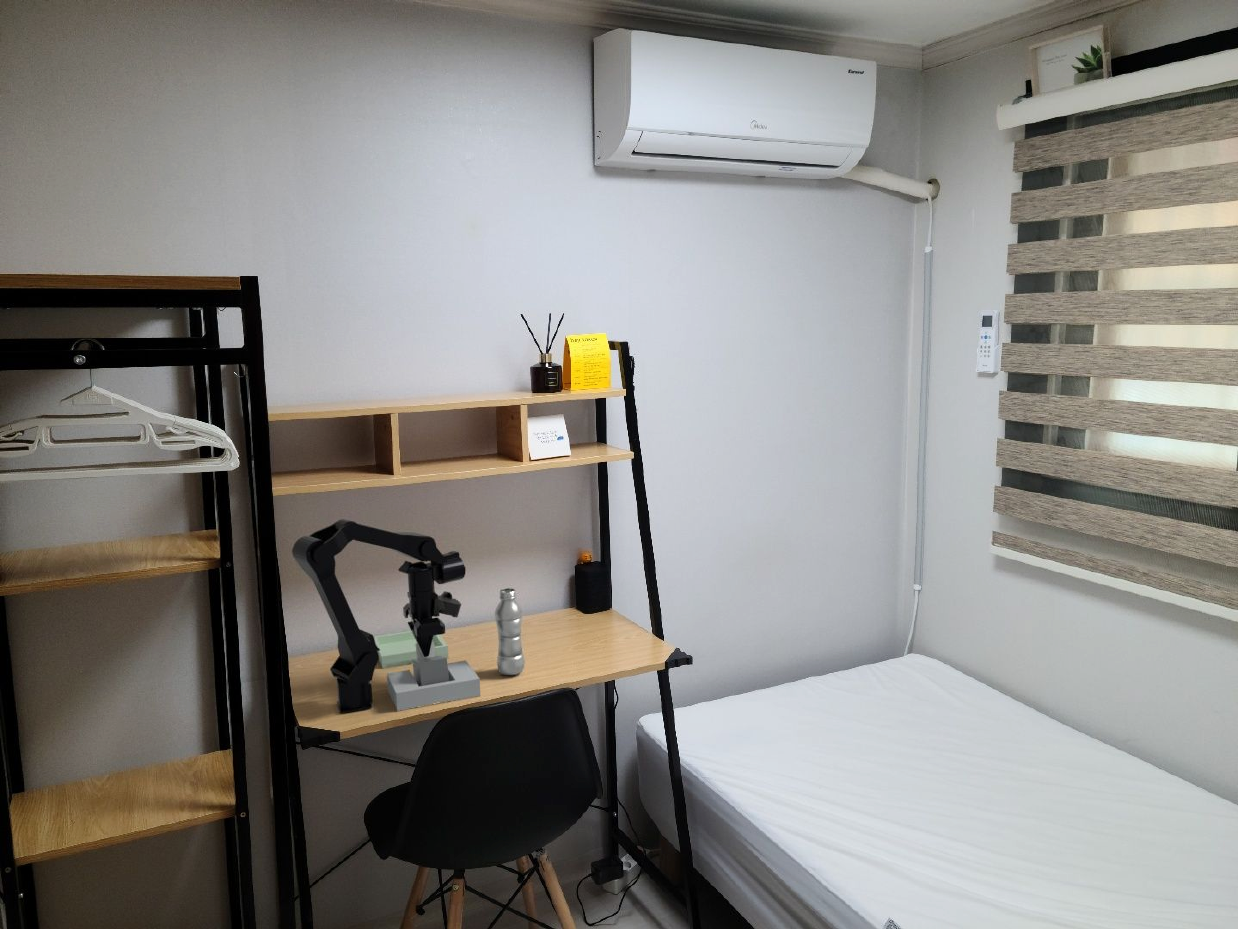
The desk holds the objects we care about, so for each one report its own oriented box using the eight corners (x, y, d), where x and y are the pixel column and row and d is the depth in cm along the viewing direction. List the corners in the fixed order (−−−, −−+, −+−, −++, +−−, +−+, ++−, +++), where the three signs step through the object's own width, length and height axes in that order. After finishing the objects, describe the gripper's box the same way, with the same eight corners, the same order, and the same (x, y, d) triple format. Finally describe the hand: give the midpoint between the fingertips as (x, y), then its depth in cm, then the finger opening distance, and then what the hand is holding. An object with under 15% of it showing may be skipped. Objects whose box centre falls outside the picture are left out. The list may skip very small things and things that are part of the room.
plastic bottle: (499, 680, 206) (495, 595, 203) (495, 669, 212) (491, 588, 210) (527, 676, 208) (523, 592, 205) (522, 666, 214) (518, 585, 211)
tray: (382, 668, 215) (381, 656, 215) (372, 648, 230) (371, 636, 229) (448, 657, 221) (447, 646, 221) (435, 638, 236) (434, 627, 235)
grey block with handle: (422, 690, 194) (417, 646, 195) (415, 686, 204) (410, 644, 205) (449, 685, 197) (445, 642, 198) (441, 681, 206) (437, 640, 207)
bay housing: (397, 711, 190) (396, 693, 190) (387, 690, 202) (386, 673, 201) (480, 696, 197) (479, 678, 197) (466, 676, 209) (465, 660, 208)
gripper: (466, 594, 197) (469, 662, 199) (448, 574, 214) (451, 637, 217) (415, 601, 193) (419, 670, 195) (401, 580, 210) (405, 644, 212)
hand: (425, 654), depth 205 cm, fingers closed on grey block with handle
